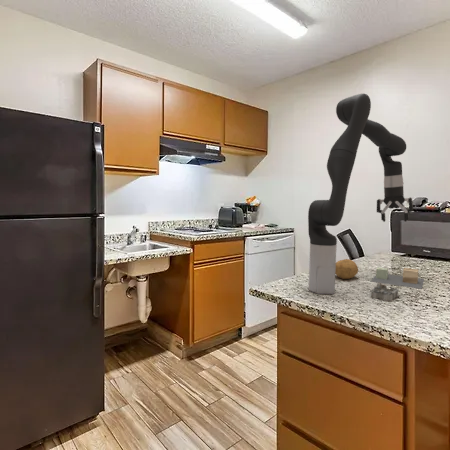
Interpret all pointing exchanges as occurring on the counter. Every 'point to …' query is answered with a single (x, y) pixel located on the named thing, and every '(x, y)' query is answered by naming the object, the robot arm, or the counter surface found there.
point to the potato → (346, 269)
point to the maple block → (410, 275)
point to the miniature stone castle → (384, 292)
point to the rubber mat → (399, 281)
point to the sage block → (382, 273)
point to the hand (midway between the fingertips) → (394, 221)
